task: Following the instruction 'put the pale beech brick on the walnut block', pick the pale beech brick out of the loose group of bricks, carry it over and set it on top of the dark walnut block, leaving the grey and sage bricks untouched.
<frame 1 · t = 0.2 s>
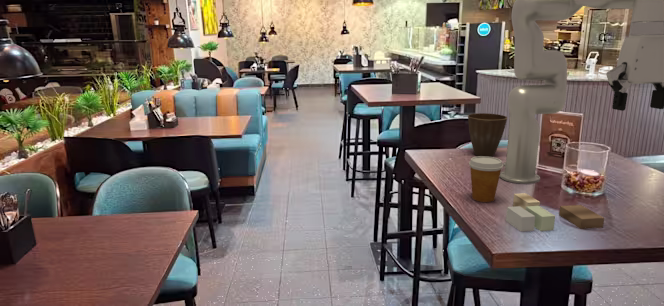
hand: (637, 109, 101), 31 cm above the table, tool pointing down, fingers open, 9 cm apart
disposable coffee cup: (483, 199, 133), on the table
walnut base: (580, 222, 116), on the table
beech brick: (525, 211, 124), on the table
grey brick: (519, 226, 114), on the table
sage brick: (538, 225, 114), on the table
plant pot: (484, 155, 182), on the table
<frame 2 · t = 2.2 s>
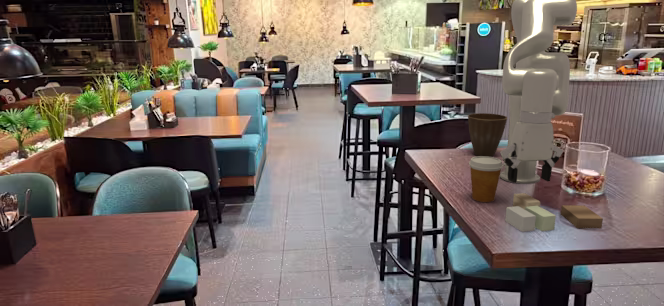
hand: (528, 180, 120), 9 cm above the table, tool pointing down, fingers open, 9 cm apart
nothing on the table moved.
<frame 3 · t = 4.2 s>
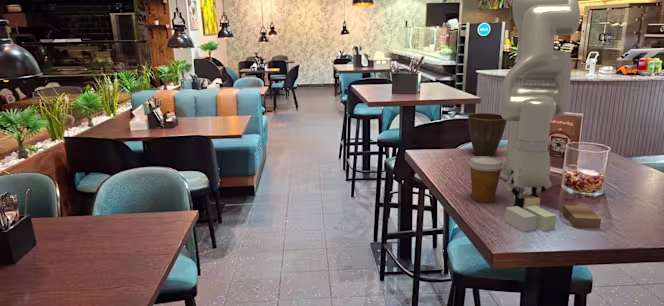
hand: (525, 209, 123), 0 cm above the table, tool pointing down, fingers closed on beech brick, 3 cm apart
beech brick: (526, 210, 123), on the table, tilted 6°, touching gripper
everything else where it was.
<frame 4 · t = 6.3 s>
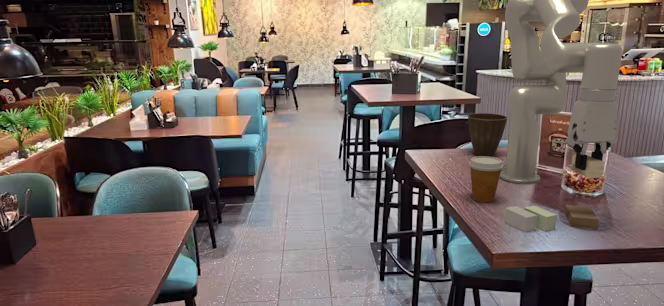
hand: (587, 167, 112), 15 cm above the table, tool pointing down, fingers closed on beech brick, 3 cm apart
beech brick: (586, 173, 113), point 13 cm above the table, touching gripper
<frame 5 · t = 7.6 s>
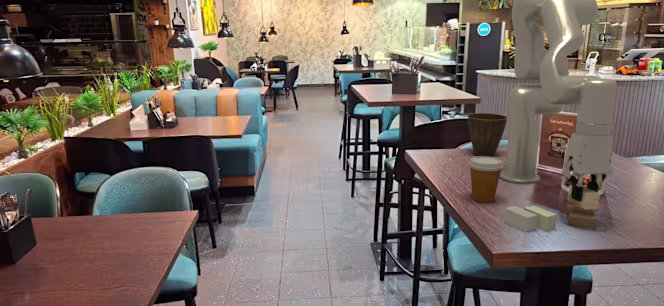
hand: (583, 198, 114), 6 cm above the table, tool pointing down, fingers closed on beech brick, 3 cm apart
beech brick: (582, 204, 115), point 5 cm above the table, touching gripper
when the fingers open (5 cm above the table, at t = 8.5 s): beech brick drops 1 cm, resting on walnut base.
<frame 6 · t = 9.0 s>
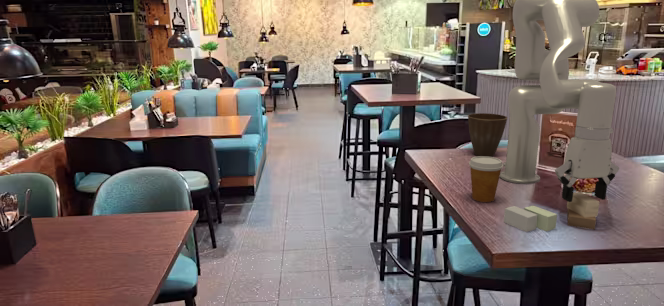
hand: (583, 198, 115), 6 cm above the table, tool pointing down, fingers open, 8 cm apart
walnut base: (580, 222, 116), on the table, touching beech brick
beech brick: (581, 211, 116), point 3 cm above the table, touching walnut base
everything else where it was.
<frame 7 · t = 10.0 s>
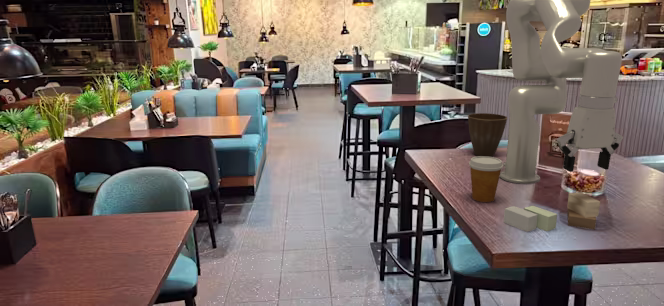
hand: (585, 168, 114), 14 cm above the table, tool pointing down, fingers open, 9 cm apart
walnut base: (580, 222, 116), on the table
beech brick: (582, 211, 115), point 3 cm above the table
everything else where it was.
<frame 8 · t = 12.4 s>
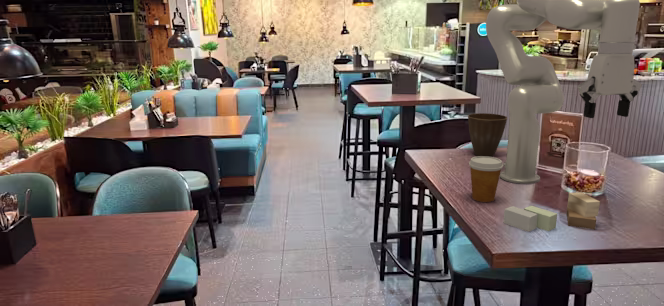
hand: (605, 116, 116), 26 cm above the table, tool pointing down, fingers open, 9 cm apart
walnut base: (579, 222, 116), on the table, touching beech brick
beech brick: (582, 211, 116), point 3 cm above the table, touching walnut base
everything else where it was.
at the end: beech brick inside the target area on the walnut base (0.4 cm from its centre), point 3.0 cm above the walnut base's base; grey brick moved 0.2 cm from its start; sage brick moved 0.2 cm from its start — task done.
